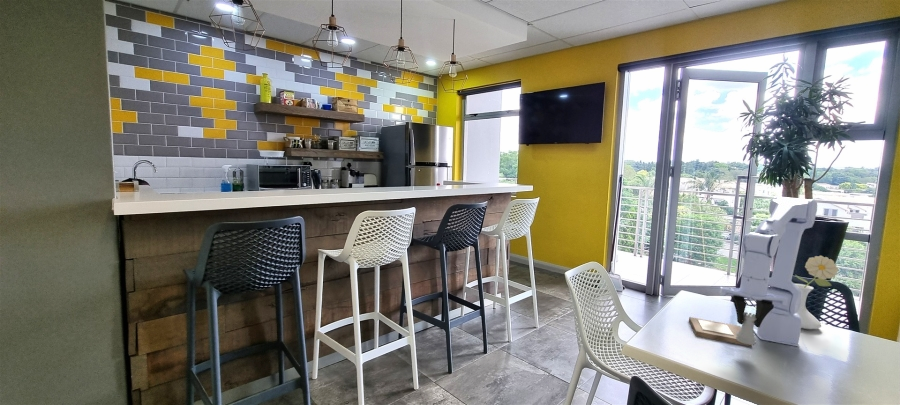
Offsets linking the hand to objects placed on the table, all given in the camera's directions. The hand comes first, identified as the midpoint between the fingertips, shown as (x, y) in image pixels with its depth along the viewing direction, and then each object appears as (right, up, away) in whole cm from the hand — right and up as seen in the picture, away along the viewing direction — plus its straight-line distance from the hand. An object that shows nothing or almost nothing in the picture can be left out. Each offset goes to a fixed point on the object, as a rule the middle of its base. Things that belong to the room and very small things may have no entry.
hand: (748, 324), depth 103 cm
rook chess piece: (-1, -5, 0) cm, 5 cm away
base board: (+2, -8, +15) cm, 17 cm away
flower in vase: (+37, -8, +24) cm, 44 cm away
